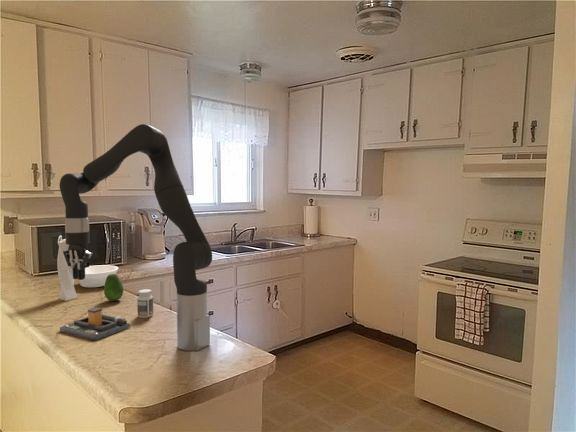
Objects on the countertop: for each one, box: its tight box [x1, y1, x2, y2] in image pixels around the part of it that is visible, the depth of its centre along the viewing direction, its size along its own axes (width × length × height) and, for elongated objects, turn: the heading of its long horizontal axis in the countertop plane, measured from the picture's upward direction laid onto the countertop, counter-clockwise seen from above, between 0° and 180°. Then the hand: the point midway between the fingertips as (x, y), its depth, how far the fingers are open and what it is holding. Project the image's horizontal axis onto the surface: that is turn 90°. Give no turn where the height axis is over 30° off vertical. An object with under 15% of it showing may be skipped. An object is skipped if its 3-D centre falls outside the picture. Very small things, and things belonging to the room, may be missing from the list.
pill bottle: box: [136, 288, 154, 319], centre depth 155 cm, size 6×6×10 cm
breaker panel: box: [59, 316, 131, 342], centre depth 141 cm, size 18×14×3 cm
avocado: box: [103, 273, 124, 302], centre depth 175 cm, size 8×8×12 cm
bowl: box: [78, 264, 119, 288], centre depth 202 cm, size 21×21×8 cm
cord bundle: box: [102, 311, 128, 325], centre depth 145 cm, size 16×3×2 cm, turn 63°
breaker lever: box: [87, 307, 103, 326], centre depth 140 cm, size 3×3×6 cm
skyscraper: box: [56, 234, 78, 302], centre depth 177 cm, size 8×8×28 cm
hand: (78, 278), depth 143 cm, fingers closed
